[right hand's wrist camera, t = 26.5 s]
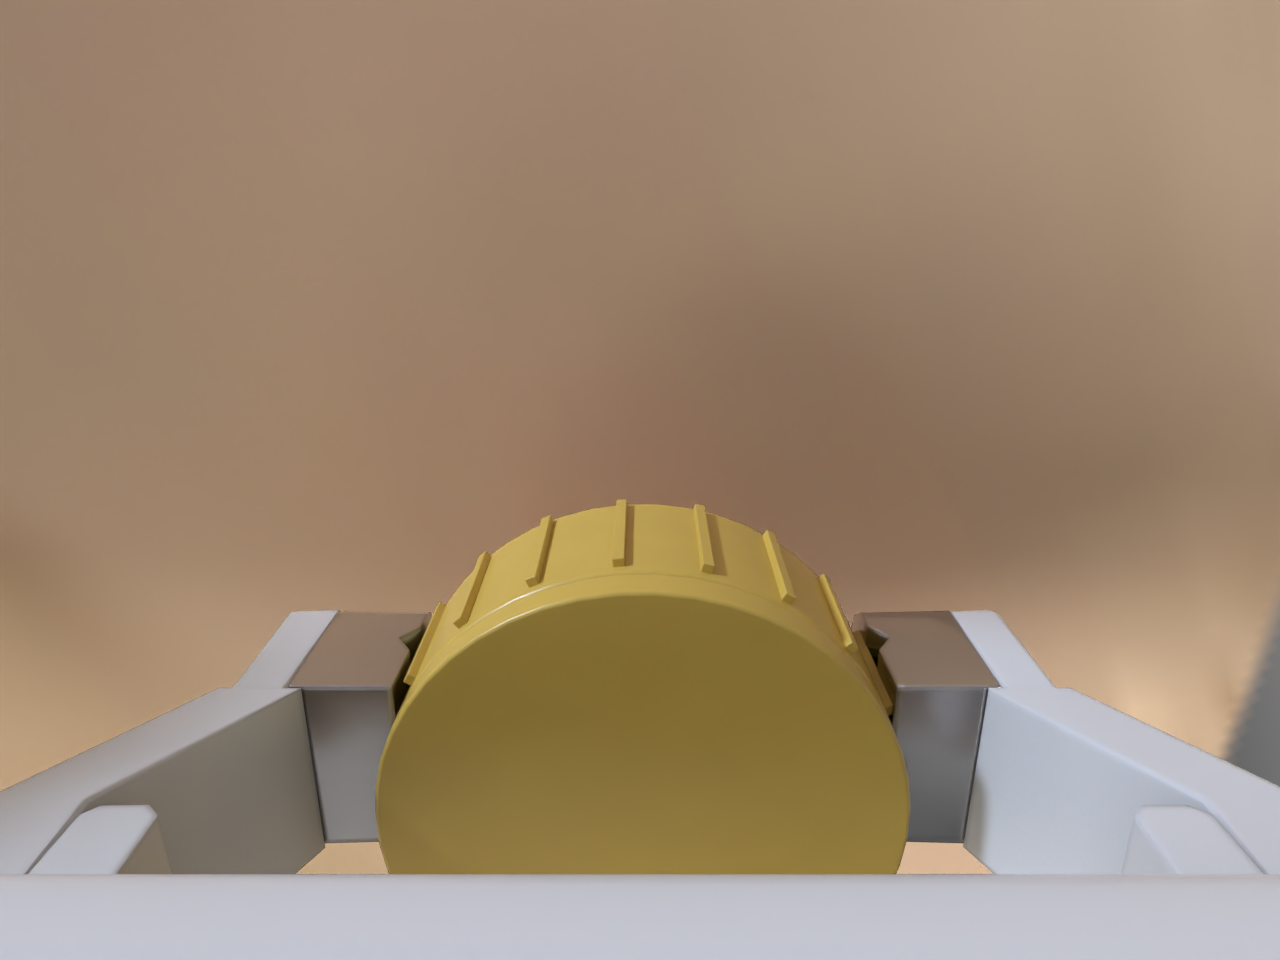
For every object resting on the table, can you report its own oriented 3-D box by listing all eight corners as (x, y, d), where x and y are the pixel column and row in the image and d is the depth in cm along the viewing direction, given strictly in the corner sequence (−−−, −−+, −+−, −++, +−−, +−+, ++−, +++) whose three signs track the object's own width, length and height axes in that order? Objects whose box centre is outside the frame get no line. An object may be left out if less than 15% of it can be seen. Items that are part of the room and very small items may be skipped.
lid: (330, 725, 10) (262, 854, 8) (611, 398, 9) (603, 467, 7) (665, 940, 11) (670, 1095, 9) (961, 680, 10) (1034, 803, 8)
